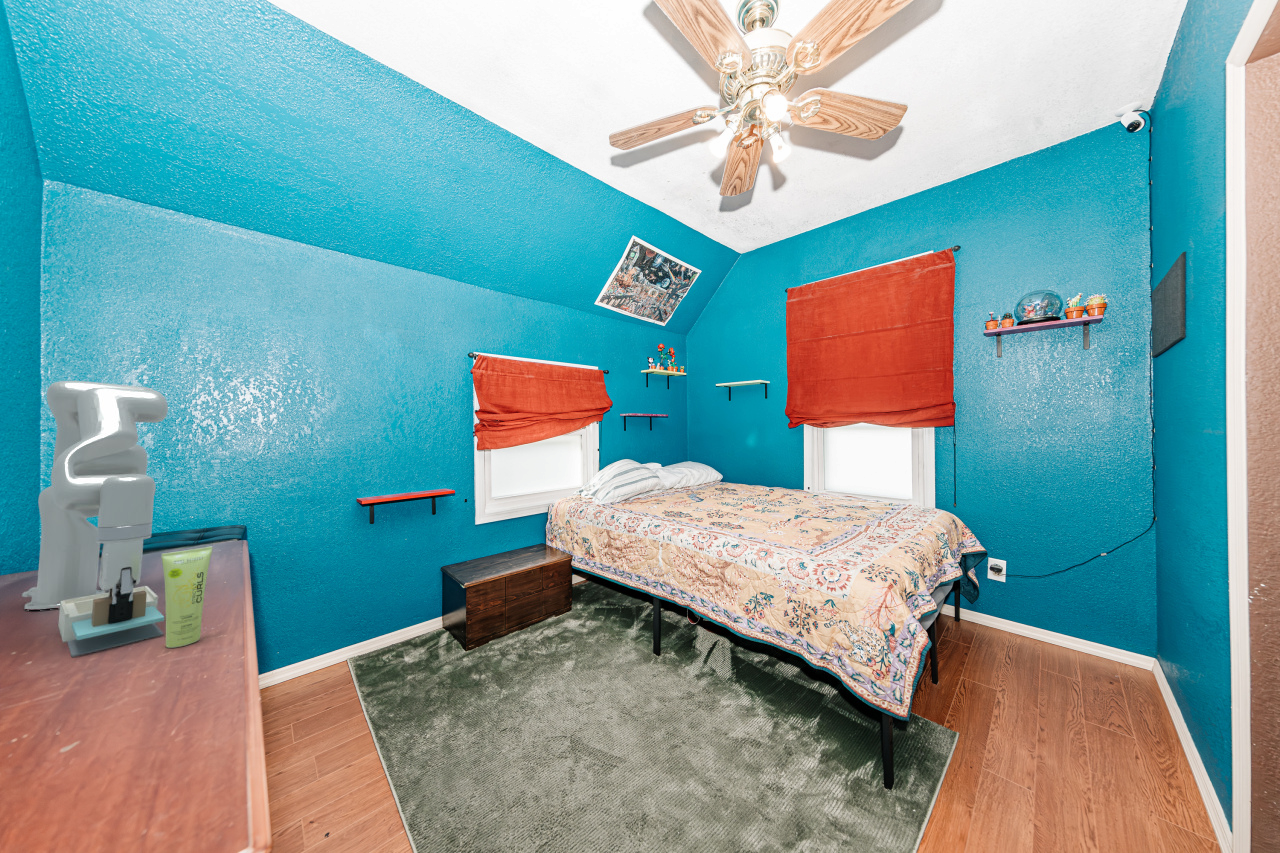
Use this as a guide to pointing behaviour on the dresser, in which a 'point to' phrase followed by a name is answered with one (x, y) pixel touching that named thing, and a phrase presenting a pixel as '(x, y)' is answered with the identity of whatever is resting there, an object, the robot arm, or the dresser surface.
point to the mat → (113, 639)
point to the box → (89, 610)
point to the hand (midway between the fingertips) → (118, 618)
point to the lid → (101, 625)
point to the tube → (185, 594)
